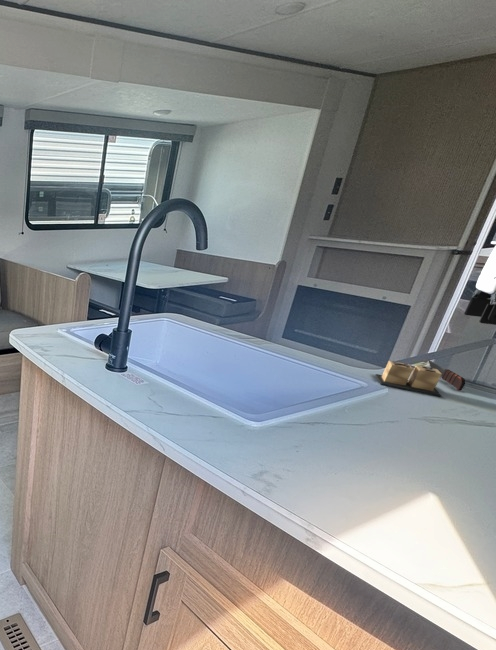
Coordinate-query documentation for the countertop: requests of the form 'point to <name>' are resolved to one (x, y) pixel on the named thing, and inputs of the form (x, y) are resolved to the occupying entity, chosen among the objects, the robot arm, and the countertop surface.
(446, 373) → the knife
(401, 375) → the wooden block
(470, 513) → the countertop surface
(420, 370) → the tile
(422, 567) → the countertop surface
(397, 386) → the word mat
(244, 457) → the countertop surface
